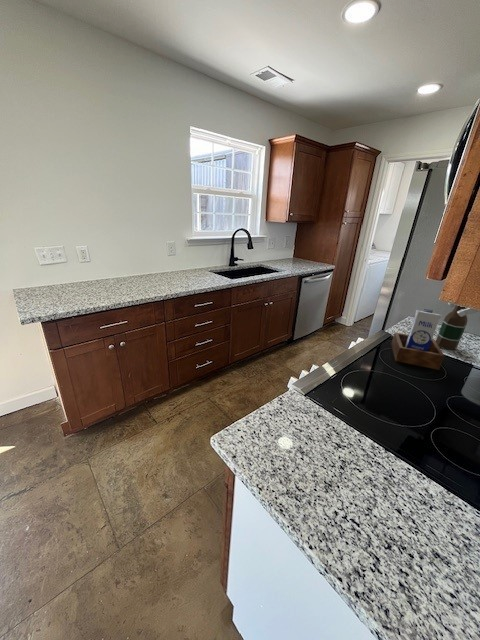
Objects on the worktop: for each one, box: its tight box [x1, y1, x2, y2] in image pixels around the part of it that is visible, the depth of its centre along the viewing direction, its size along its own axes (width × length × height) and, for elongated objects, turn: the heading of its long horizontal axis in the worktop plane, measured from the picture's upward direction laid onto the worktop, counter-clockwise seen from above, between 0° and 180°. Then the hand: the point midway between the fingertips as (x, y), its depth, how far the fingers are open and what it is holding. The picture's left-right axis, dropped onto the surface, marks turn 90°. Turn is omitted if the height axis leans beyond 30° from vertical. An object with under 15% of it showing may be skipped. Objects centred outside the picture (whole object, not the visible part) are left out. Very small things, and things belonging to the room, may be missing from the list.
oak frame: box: [390, 332, 445, 371], centre depth 105 cm, size 14×14×6 cm
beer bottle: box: [435, 306, 468, 351], centre depth 110 cm, size 8×8×24 cm
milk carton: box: [405, 308, 442, 351], centre depth 102 cm, size 7×7×20 cm
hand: (453, 309), depth 95 cm, fingers open, 8 cm apart
